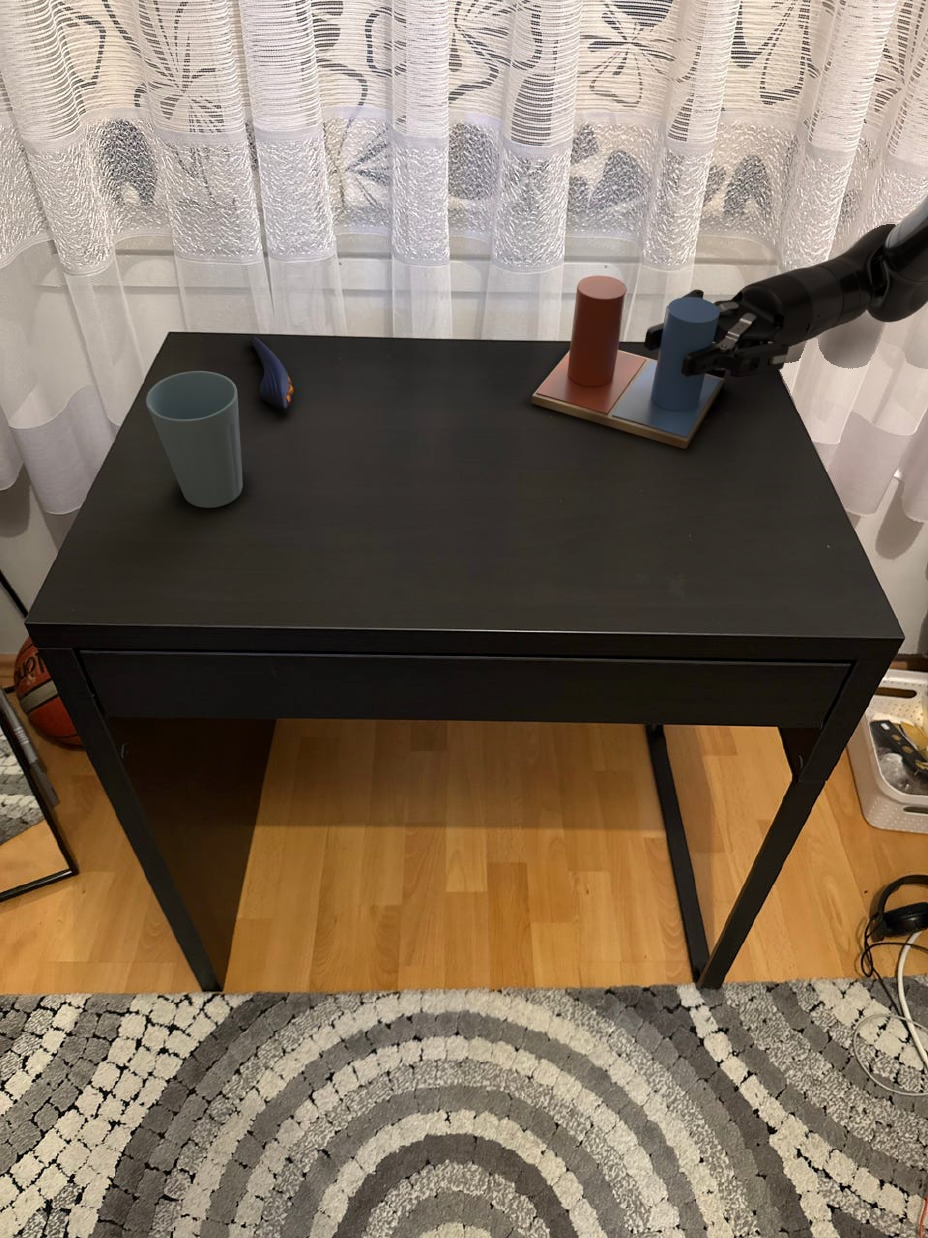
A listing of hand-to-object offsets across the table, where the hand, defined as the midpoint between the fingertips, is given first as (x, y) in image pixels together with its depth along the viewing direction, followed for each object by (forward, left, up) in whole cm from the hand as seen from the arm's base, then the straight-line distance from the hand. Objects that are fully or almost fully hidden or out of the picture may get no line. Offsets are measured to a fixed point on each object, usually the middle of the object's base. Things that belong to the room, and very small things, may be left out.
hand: (666, 353), depth 92 cm
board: (+4, -2, -7) cm, 8 cm away
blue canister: (-1, -2, -6) cm, 7 cm away
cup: (+33, +32, -7) cm, 46 cm away
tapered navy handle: (+39, +14, -7) cm, 42 cm away
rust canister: (+8, -2, -6) cm, 10 cm away
